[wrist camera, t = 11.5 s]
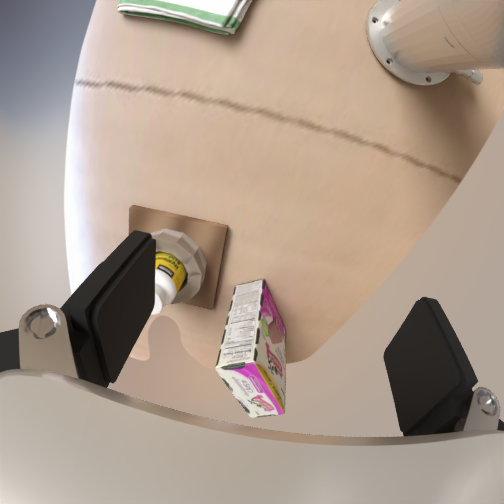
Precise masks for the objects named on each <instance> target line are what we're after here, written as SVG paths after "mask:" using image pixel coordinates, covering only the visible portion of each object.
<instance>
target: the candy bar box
mask: <svg viewBox="0 0 504 504" xmlns="http://www.w3.org/2000/svg"><path fill="white" fill-rule="evenodd" d="M285 367H286V329H285V327H284V325H283V322H282V320H281V318H280V316H279V313H278V311H277V308H276V306H275V304H274V301H273V299H272V297H271V294H270V292H269V290H268V287H267V285H266V283H265V280H264V279H260V280H256V281H253V282H250V283H245V284H241V285H237V286H235V289H234V293H233V297H232V301H231V305H230V310H229V314H228V318H227V322H226V326H225V330H224V335H223V338H222V343H221V347H220V351H219V355H218V360H217V364H216V367H215V370H216V371H217V372H218V374H219V375H220V376H221V378H222V379H223V381H224V382H225V384H226V385H227V386H228V388H229V389H230V391H231V392H232V393H233V395H234V396H235V397H236V399H237V400H238V401H239V403H240V404H241V405H242V406H243V408H244V409H245V411H246V412H247V413H248V414H249V416H250V417H251V418H255V417H263V416H271V415H281V414H284V413H285V385H286V384H285V383H286V371H285V370H286V368H285Z"/></svg>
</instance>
